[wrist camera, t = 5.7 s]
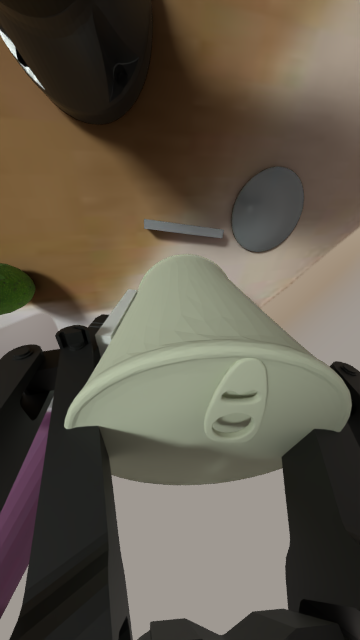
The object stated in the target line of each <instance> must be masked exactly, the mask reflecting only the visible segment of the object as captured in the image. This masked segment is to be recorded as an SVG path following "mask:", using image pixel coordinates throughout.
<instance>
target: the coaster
mask: <svg viewBox="0 0 360 640" xmlns="http://www.w3.org/2000/svg"><path fill="white" fill-rule="evenodd" d="M303 203H304V191H303V186H302V183H301V181H300V179H299V177H298V176H297V175H296V174H295V173H294V172H293V171H292V170H290V169H288V168H284V167H272V168H269V169H266V170H264V171H262V172H260V173H259V174H257V175H255V176H254V177H253V178H252V179H251V180H250V181H249V182H248V183H247V184H246V185H245V186H244V187H243V189H242V190H241V192H240V193H239V195H238V197H237V199H236V202H235V204H234V208H233V212H232V220H231V221H232V231H233V234H234V236H235V239H236V240H237V242H238V243H239V244H240V245H241V246H242V247H244V248H245V249H248V250H250V251H255V252H261V251H266V250H269V249H272V248H274V247H276V246H277V245H279V244H280V243H281V242H283V241H284V240H285V239H286V238H287V237H288V236H289V235H290V233H291V232H292V231H293V229H294V228H295V226H296V224H297V222H298V220H299V218H300V215H301V212H302V209H303Z"/></svg>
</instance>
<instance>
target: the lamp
mask: <svg viewBox="0 0 360 640" xmlns="http://www.w3.org/2000/svg"><path fill="white" fill-rule="evenodd" d="M53 397H54V396H53ZM52 403H53V398H52V400H51V403H50V405H49V407H48V409H47V412H46V414H45V416H44V418H43V420H42V423H41V425H40V427H39V429H38V431H37V434H36V436H35V438H34V440H33V442H32V445H31V447H30V449H29V451H28V453H27V456H26V458H25V460H24V462H23V464H22V467H21V469H20V471H19V473H18V476H17V478H16V480H15V482H14V484H13V487H12V489H11V491H10V493H9V495H8V498H7V500H6V502H5V504H4V506H3V509H2V511H1V513H0V618H1V616H2V615H3V613H4V611H5V609H6V607H7V605H8V603H9V601H10V599H11V597H12V595H13V593H14V591H15V590H16V588H17V586H18V584H19V582H20V580H21V578H22V576H23V574H24V572H25V570H26V568H27V566H28V564H29V560H30V553H31V546H32V539H33V532H34V526H35V519H36V512H37V505H38V499H39V492H40V485H41V478H42V471H43V465H44V458H45V451H46V444H47V437H48V431H49V424H50V417H51V410H52Z"/></svg>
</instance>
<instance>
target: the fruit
mask: <svg viewBox="0 0 360 640" xmlns="http://www.w3.org/2000/svg"><path fill="white" fill-rule="evenodd" d="M34 292H35V285H34V283H33V281H32V279H31V278H30V277H29V276H28V275H27V274H26V273H24V272H23V271H21V270H20V269H18V268H16V267H13V266H10V265H8V264H2V263H0V315H2V314H6V313H11V312H13V311H15V310H17V309H19V308H21V307H23V306H25V305H26V304H27V303H28V302H29V301H30V300H31V299H32V297H33V295H34Z"/></svg>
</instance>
